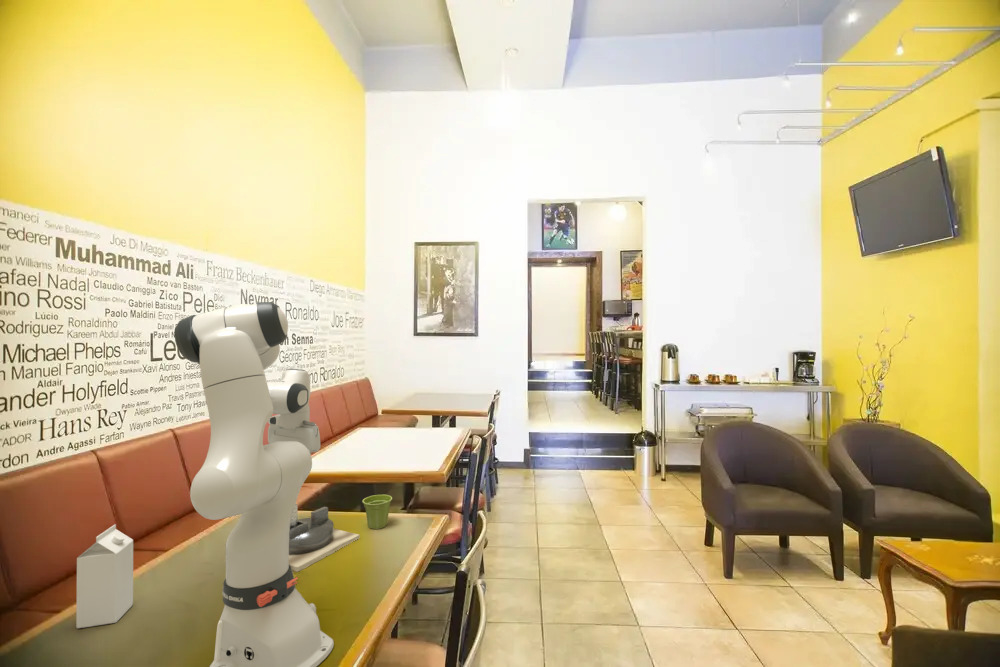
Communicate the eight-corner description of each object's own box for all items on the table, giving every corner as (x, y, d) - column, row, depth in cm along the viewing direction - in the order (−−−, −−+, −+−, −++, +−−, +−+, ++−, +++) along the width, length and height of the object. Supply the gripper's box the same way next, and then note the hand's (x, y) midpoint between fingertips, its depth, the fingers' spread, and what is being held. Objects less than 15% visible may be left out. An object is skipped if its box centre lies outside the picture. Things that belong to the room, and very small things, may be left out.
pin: (300, 533, 128) (300, 505, 128) (289, 537, 125) (289, 509, 125) (292, 530, 129) (292, 503, 130) (281, 535, 126) (281, 507, 127)
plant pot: (360, 523, 148) (360, 497, 148) (389, 518, 152) (389, 492, 152) (364, 533, 140) (364, 506, 140) (395, 528, 144) (394, 501, 144)
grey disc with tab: (345, 535, 135) (344, 511, 135) (299, 558, 121) (299, 531, 121) (308, 526, 142) (308, 503, 142) (262, 547, 128) (262, 521, 128)
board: (359, 538, 136) (359, 534, 136) (297, 571, 117) (297, 566, 117) (310, 526, 146) (310, 522, 146) (245, 554, 127) (245, 549, 127)
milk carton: (75, 629, 94) (76, 539, 94) (96, 610, 101) (96, 526, 101) (115, 623, 96) (116, 535, 96) (133, 605, 103) (133, 522, 103)
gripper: (326, 421, 140) (324, 465, 139) (281, 415, 149) (280, 456, 148) (309, 424, 134) (308, 470, 134) (264, 418, 143) (263, 460, 143)
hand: (293, 462), depth 141 cm, fingers open, 8 cm apart
